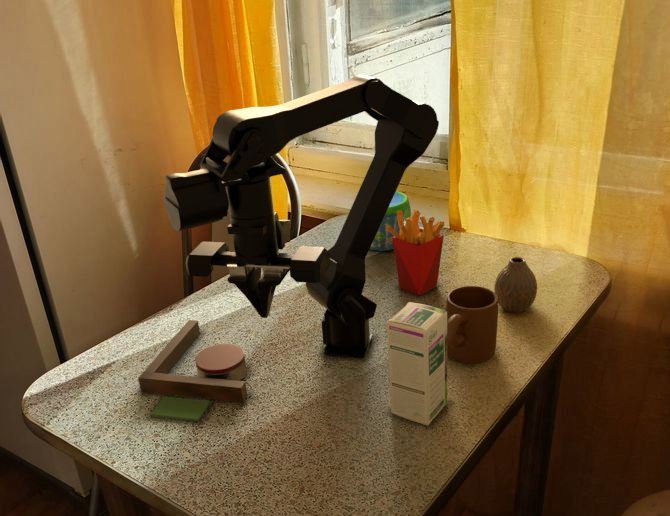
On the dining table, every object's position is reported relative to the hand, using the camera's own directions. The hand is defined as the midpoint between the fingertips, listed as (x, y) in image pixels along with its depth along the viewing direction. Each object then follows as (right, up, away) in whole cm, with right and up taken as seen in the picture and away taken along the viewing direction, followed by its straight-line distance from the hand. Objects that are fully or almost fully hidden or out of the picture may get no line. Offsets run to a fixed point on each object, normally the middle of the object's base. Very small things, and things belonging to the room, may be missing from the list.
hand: (265, 316), depth 94 cm
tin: (-7, -9, +5) cm, 12 cm away
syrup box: (+21, -12, -4) cm, 25 cm away
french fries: (+24, +4, +26) cm, 35 cm away
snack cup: (+18, +13, +44) cm, 50 cm away
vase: (+39, +1, +19) cm, 44 cm away
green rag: (-11, -13, -2) cm, 17 cm away
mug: (+29, -7, +6) cm, 30 cm away
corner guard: (-9, -8, +7) cm, 14 cm away
